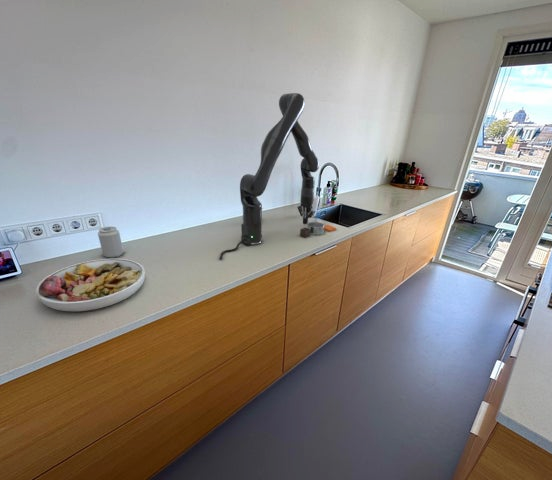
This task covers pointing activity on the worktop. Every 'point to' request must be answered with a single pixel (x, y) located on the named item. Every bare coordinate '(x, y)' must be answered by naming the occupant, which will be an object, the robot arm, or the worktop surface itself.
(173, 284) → the worktop surface
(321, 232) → the steel pot
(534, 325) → the worktop surface
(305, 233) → the walnut block
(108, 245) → the can
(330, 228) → the orange cloth
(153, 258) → the worktop surface
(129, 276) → the bowl
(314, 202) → the foam cup
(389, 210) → the worktop surface
